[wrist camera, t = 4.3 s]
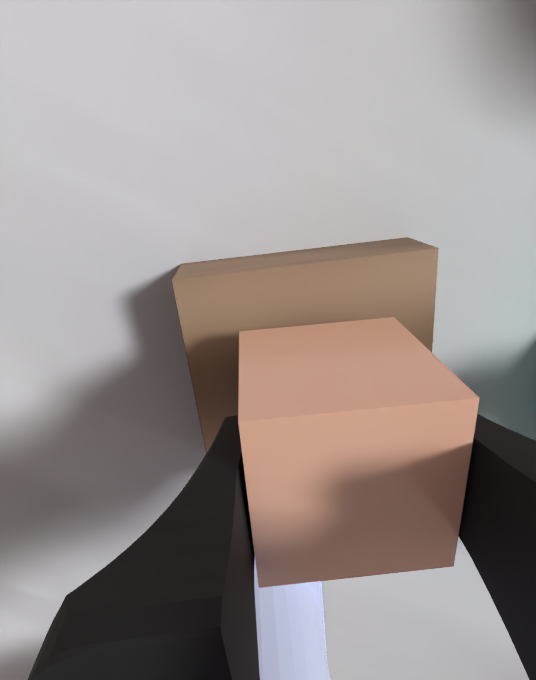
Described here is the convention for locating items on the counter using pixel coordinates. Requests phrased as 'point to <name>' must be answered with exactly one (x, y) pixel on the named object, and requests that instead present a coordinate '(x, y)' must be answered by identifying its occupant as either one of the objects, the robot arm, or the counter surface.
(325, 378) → the cube
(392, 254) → the slab
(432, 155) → the counter surface
